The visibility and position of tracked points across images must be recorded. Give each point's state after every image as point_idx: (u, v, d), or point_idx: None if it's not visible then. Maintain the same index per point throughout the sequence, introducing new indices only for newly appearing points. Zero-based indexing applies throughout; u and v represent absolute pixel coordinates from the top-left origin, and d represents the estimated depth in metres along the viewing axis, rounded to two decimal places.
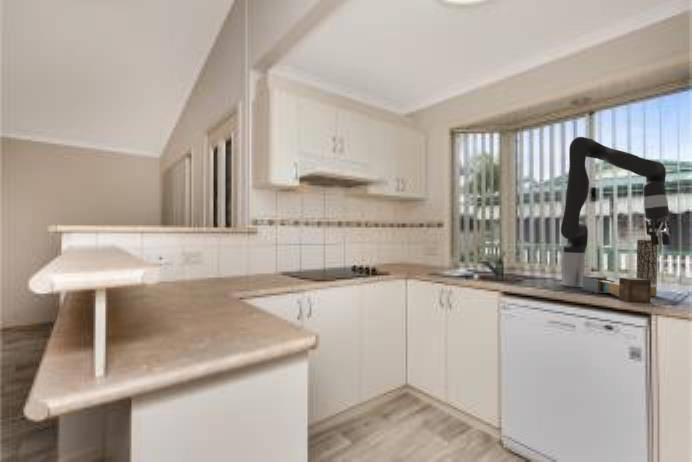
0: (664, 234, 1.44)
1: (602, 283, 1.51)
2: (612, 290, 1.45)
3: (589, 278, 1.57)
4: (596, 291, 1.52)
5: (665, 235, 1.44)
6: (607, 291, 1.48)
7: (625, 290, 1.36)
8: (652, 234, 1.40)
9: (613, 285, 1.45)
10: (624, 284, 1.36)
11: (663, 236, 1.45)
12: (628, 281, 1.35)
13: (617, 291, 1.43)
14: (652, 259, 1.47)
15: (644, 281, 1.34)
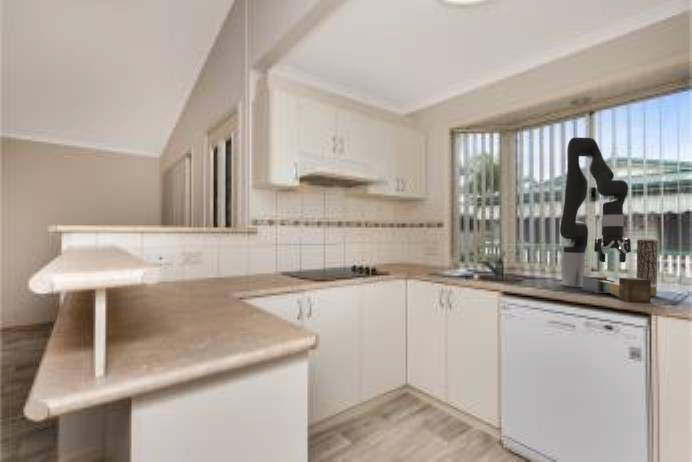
0: (621, 252, 1.48)
1: (602, 283, 1.51)
2: (612, 290, 1.45)
3: (589, 278, 1.57)
4: (596, 291, 1.52)
5: (622, 253, 1.48)
6: (607, 291, 1.48)
7: (625, 290, 1.36)
8: (598, 252, 1.48)
9: (613, 285, 1.45)
10: (624, 284, 1.36)
11: None
12: (628, 281, 1.35)
13: (617, 291, 1.43)
14: (652, 259, 1.47)
15: (644, 281, 1.34)
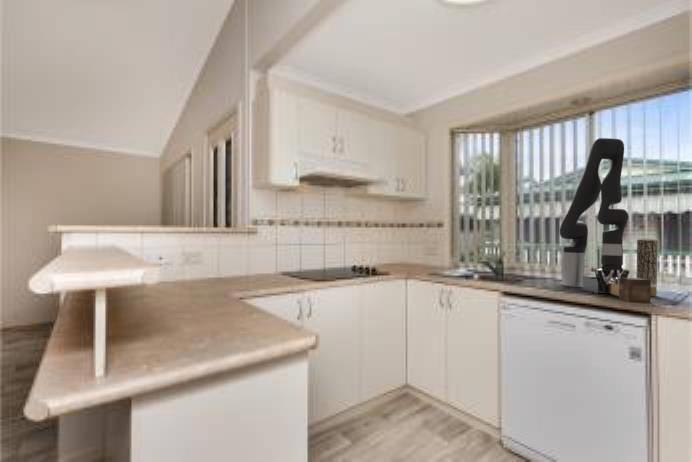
0: None
1: None
2: (612, 290, 1.45)
3: (589, 278, 1.57)
4: (596, 291, 1.52)
5: None
6: None
7: (625, 290, 1.36)
8: (602, 283, 1.48)
9: (613, 285, 1.45)
10: (624, 284, 1.36)
11: None
12: (628, 281, 1.35)
13: (617, 291, 1.43)
14: (652, 259, 1.47)
15: (644, 281, 1.34)
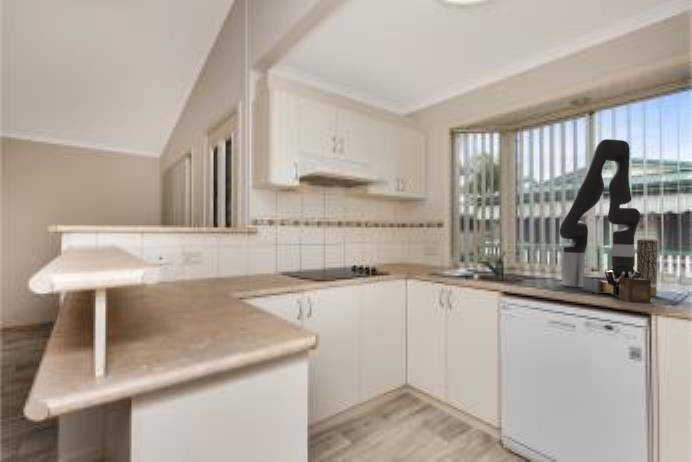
0: None
1: None
2: None
3: (589, 278, 1.57)
4: (596, 291, 1.52)
5: None
6: None
7: (625, 290, 1.36)
8: (612, 285, 1.42)
9: None
10: (624, 284, 1.36)
11: None
12: (628, 281, 1.35)
13: None
14: (652, 259, 1.47)
15: (644, 281, 1.34)
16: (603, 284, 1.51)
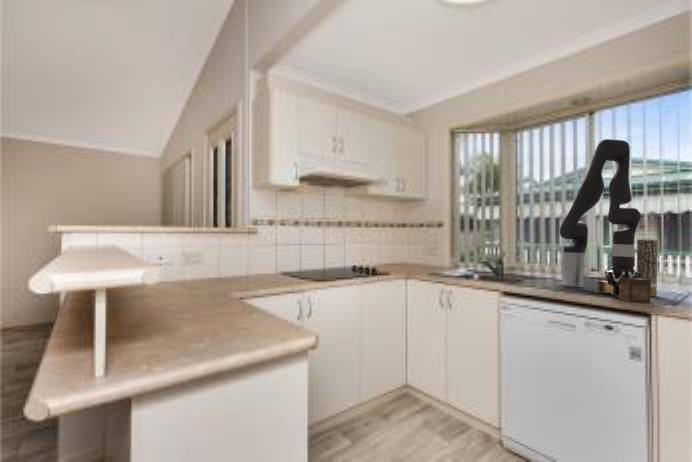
0: None
1: None
2: None
3: (589, 278, 1.57)
4: (596, 291, 1.52)
5: None
6: None
7: (625, 290, 1.36)
8: (612, 285, 1.42)
9: None
10: (624, 284, 1.36)
11: None
12: (628, 281, 1.35)
13: None
14: (652, 259, 1.47)
15: (644, 281, 1.34)
16: (603, 284, 1.50)
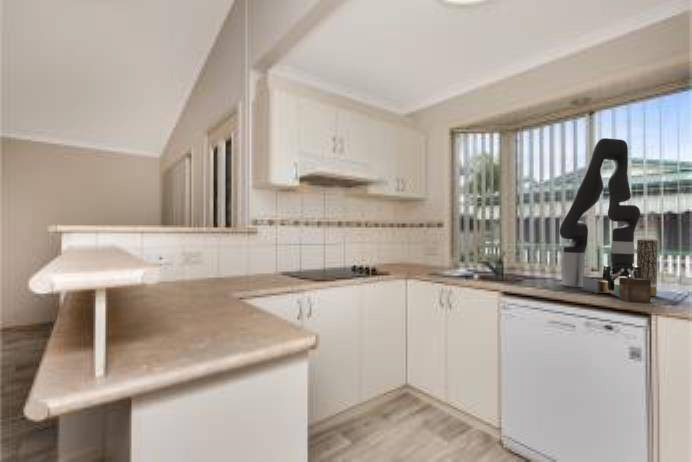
0: None
1: None
2: None
3: (589, 278, 1.57)
4: (596, 291, 1.52)
5: None
6: (618, 294, 1.42)
7: (625, 290, 1.36)
8: (607, 280, 1.42)
9: None
10: (624, 284, 1.36)
11: None
12: (628, 281, 1.35)
13: None
14: (652, 259, 1.47)
15: (644, 281, 1.34)
16: (603, 284, 1.50)
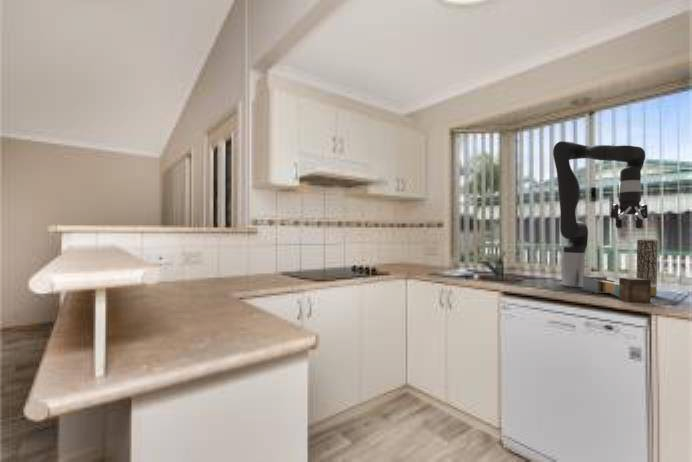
0: (638, 218, 1.49)
1: (613, 285, 1.45)
2: None
3: (589, 278, 1.57)
4: (596, 291, 1.52)
5: (638, 219, 1.49)
6: (618, 294, 1.42)
7: (625, 290, 1.36)
8: (615, 218, 1.49)
9: None
10: (624, 284, 1.36)
11: (637, 220, 1.50)
12: (628, 281, 1.35)
13: None
14: (652, 259, 1.47)
15: (644, 281, 1.34)
16: (603, 284, 1.50)
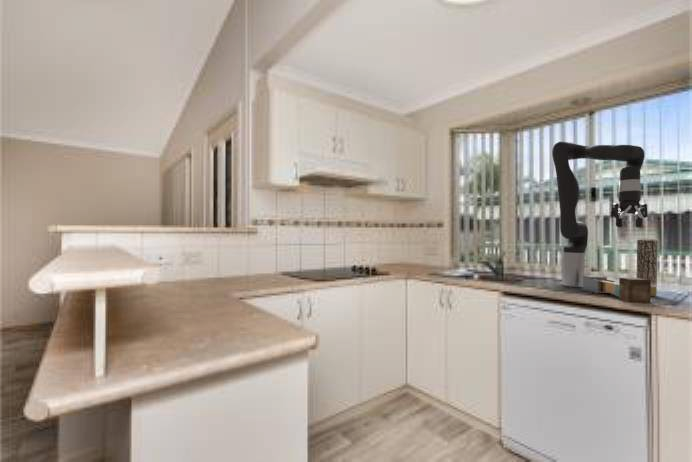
0: (638, 217, 1.49)
1: (613, 285, 1.45)
2: None
3: (589, 278, 1.57)
4: (596, 291, 1.52)
5: (638, 218, 1.49)
6: (618, 294, 1.42)
7: (625, 290, 1.36)
8: (615, 217, 1.49)
9: None
10: (624, 284, 1.36)
11: (637, 219, 1.50)
12: (628, 281, 1.35)
13: None
14: (652, 259, 1.47)
15: (644, 281, 1.34)
16: (603, 284, 1.50)
